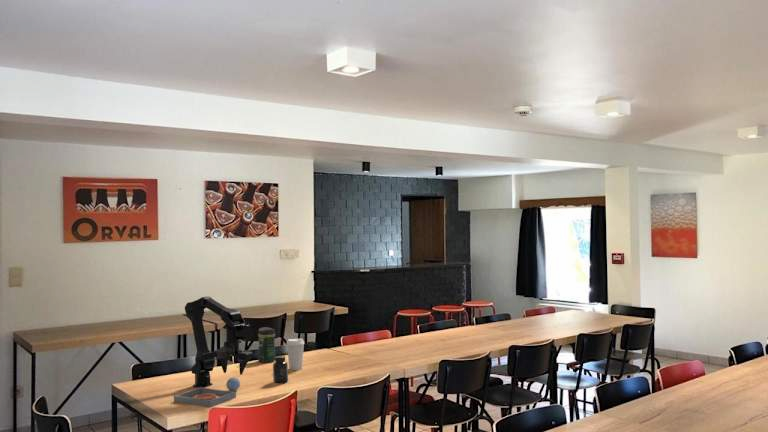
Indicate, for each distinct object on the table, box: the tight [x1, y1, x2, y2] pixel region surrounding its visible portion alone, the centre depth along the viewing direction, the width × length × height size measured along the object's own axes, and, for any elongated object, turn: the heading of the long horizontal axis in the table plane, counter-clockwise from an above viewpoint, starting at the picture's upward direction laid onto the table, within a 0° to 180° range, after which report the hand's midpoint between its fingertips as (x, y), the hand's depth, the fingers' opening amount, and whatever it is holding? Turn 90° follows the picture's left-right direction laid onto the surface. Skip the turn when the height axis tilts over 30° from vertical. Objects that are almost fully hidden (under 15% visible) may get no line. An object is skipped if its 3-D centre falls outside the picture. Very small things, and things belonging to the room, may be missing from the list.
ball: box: [225, 376, 241, 392], centre depth 289 cm, size 6×6×6 cm
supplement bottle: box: [272, 355, 289, 384], centre depth 304 cm, size 7×7×12 cm
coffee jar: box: [257, 326, 276, 363], centre depth 354 cm, size 10×8×19 cm
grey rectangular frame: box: [173, 387, 237, 408], centre depth 274 cm, size 20×16×2 cm
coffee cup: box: [285, 338, 305, 371], centre depth 333 cm, size 10×10×15 cm
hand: (232, 373), depth 289 cm, fingers open, 9 cm apart
